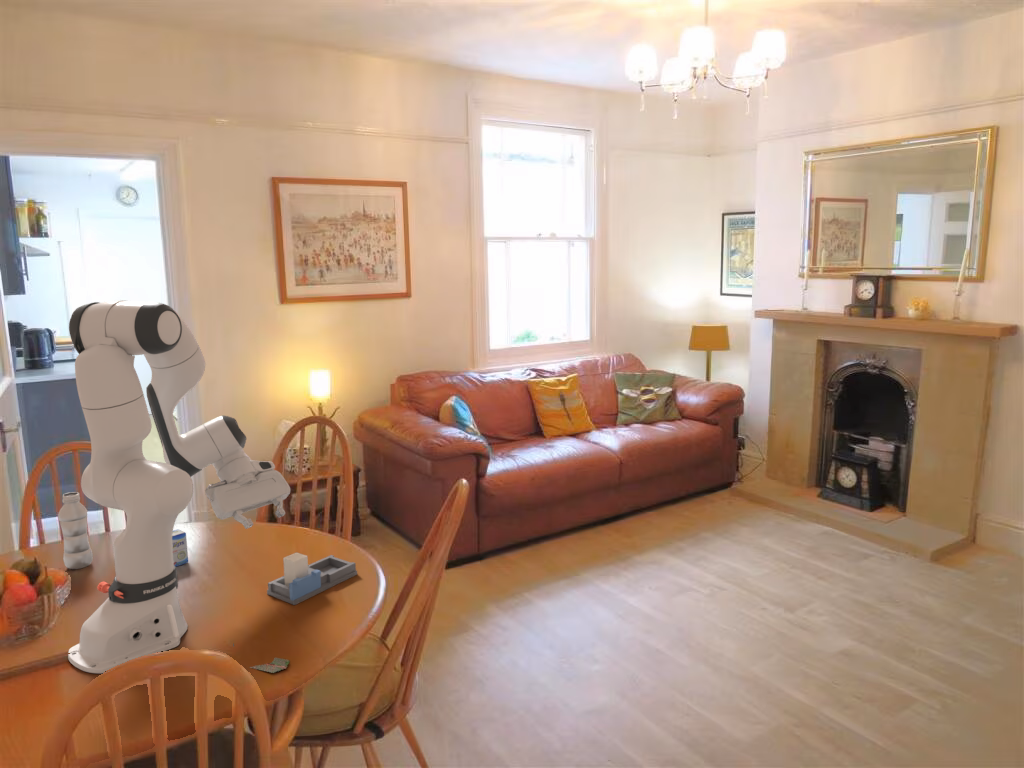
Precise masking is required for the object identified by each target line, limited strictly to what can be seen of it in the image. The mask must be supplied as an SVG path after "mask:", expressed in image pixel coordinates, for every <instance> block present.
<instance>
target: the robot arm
mask: <svg viewBox="0 0 1024 768" xmlns="http://www.w3.org/2000/svg"><path fill="white" fill-rule="evenodd" d="M70 316H71V317H70V320H69V323H68V330H69V336H70V340H71V342H72V344H73V347H74V349H75V351H76V352H77V354H78V355H77V356H76V358H75V361H74V372H75V373H74V374H75V383H76V389H77V394H78V398H79V401H80V406H81V409H82V413H83V416H84V419H85V423H86V427H87V431H88V434H89V438H90V444H91V447H90V448H91V456H90V462H89V464H88V465H87V466H86V467H85V468H84V470H83V473H82V475H81V479H80V486H81V490H82V493H83V494H84V496H85V497H87V498H88V499H90V501H92V502H94V503H96V504H98V505H100V506H101V507H104V508H108V509H113V510H120V511H123V512H125V514H126V523H125V529H124V530H123V531H122V532H121V533H120V534H119V535H117V537H116V538H115V539H114V541H113V543H112V553H113V563H114V571H115V576H114V578H113V581H112V583H108V582H106V581H101V582H99V583H98V585H96V589H97V591H99V592H101V593H102V594H107V593H108V597H107V598H106V599H105V601H103V603H101V605H100V606H98V608H97V609H96V610H95V611H94V612H93V613H92V614H91V615H90V616H89V617H88V618H87V619H86V620H85V621H84V622H83V624H82V626H81V627H80V633H79V643H77V644H75V645H73V646H72V647H70V648H69V649H68V652H67V659H68V661H69V662H70V664H72V665H73V666H74V667H75V668H77V669H78V670H81V671H83V672H86V673H90V674H105V673H106V672H105V671H107V670H109V669H111V668H113V667H115V666H117V665H120V664H122V663H125V662H127V661H129V660H132V659H135V658H138V657H141V656H144V655H148V654H152V653H156V652H160V653H162V652H161V651H163V652H166V651H168V650H171V649H174V648H176V647H178V646H179V645H180V644H181V638H182V637H183V636H184V634H185V633H186V632H187V630H188V626H189V625H188V623H187V621H186V619H185V617H184V614H183V610H182V607H181V603H180V599H179V596H178V595H179V594H178V590H177V589H178V587H179V583H178V571H177V567H175V565H174V562H173V546H172V534H173V531H174V528H175V523H176V521H177V518H178V516H179V515H180V513H182V512H183V511H184V510H186V508H188V506H189V504H190V502H191V501H192V499H193V494H194V482H193V479H192V477H193V476H195V475H196V474H197V473H199V472H201V471H203V469H206V468H207V467H208V466H213V467H214V469H215V473H216V476H217V477H218V479H219V480H220V481H219V482H216V483H210V484H208V486H207V487H206V488H205V490H204V493H205V495H206V498H207V499H208V500H209V502H210V504H211V505H210V506H211V509H212V511H213V513H214V515H215V516H216V518H217V519H219V520H220V521H221V520H226V519H228V518H233V519H234V520H235V521H236V522H238V523H240V524H242V526H243V527H244V529H245V530H247V529H250V528H252V527H253V526H254V522H253V521H252V518H250V517H249V518H247V517H246V516H244V515H243V513H248V512H250V511H253V510H256V509H259V508H262V507H265V506H269V505H272V504H273V506H275V507H276V511H275V512H274V514H275V515H276V516H277V518H281V517H284V516H285V515H286V511H285V510H284V507H283V505H284V503H283V501H284V500H286V499H287V497H289V495H290V493H291V487H290V485H289V483H288V481H286V479H285V477H284V476H283V474H282V473H281V472H280V471H278V470H276V469H275V468H276V466H275V463H274V462H273V461H266V460H265V461H264V460H263V461H262V460H254V459H251V457H250V456H249V455H248V454H247V453H246V452H245V450H244V448H245V446H246V443H247V436H246V434H245V433H244V432H243V430H241V428H240V426H239V424H238V422H237V419H236V418H234V417H232V416H229V415H222V414H221V415H219V416H216V417H215V418H212V419H210V420H208V421H206V422H204V423H202V424H201V425H199V426H197V427H195V428H193V429H190V430H189V431H186V432H184V433H182V434H180V433H179V431H178V429H177V425H176V422H175V419H174V411H175V409H176V407H177V406H178V404H179V403H180V402H181V400H182V399H184V397H185V396H186V395H188V394H189V393H190V392H192V390H194V389H195V387H196V386H197V385H198V384H199V382H200V381H201V380H202V378H203V376H204V373H205V372H206V371H205V370H206V360H205V356H204V355H203V354H204V353H203V351H202V349H201V347H200V345H199V342H198V341H197V339H196V338H195V337H196V336H194V333H192V332H193V331H192V330H191V328H189V326H188V324H187V323H186V322H185V320H184V319H183V318H182V316H180V314H179V313H178V312H177V311H175V310H174V308H173V307H171V306H169V305H168V304H165V303H162V302H157V301H148V302H147V301H146V302H145V301H131V300H130V301H128V300H112V301H104V302H100V301H99V302H98V301H95V302H89V303H86V304H84V305H81V306H78V307H77V308H75V309H74V310H73V312H72V314H71V315H70ZM140 355H141V356H142V355H143V356H144V358H145V360H146V362H147V363H148V365H149V367H150V370H151V380H150V382H149V384H148V385H147V386H146V397H147V402H148V405H149V409H150V412H149V409H148V406H147V402H146V400H145V398H146V397H145V394H144V391H143V388H142V384H141V381H140V379H139V376H138V373H137V371H136V367H135V358H136V356H140ZM149 413H151V416H152V419H153V421H154V425H155V428H156V431H157V434H158V437H159V440H160V443H161V448H162V452H163V453H162V454H163V458H164V462H162V461H153V460H148V459H146V457H145V456H144V453H143V442H144V440H145V439H146V438H147V437H148V436H149V435H150V433H151V431H152V429H153V428H152V427H153V426H152V421H151V416H150V414H149ZM68 653H70V654H68ZM104 672H105V673H104Z"/></svg>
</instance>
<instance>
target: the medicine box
mask: <svg viewBox="0 0 1024 768" xmlns="http://www.w3.org/2000/svg"><path fill="white" fill-rule="evenodd" d="M172 546H173V562H174V565H175V567H176V568H177V567H179V566H183V565H186V564H188V563H189V553H188V542H187V532H185V531H184V530H182V529H173V534H172Z"/></svg>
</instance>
